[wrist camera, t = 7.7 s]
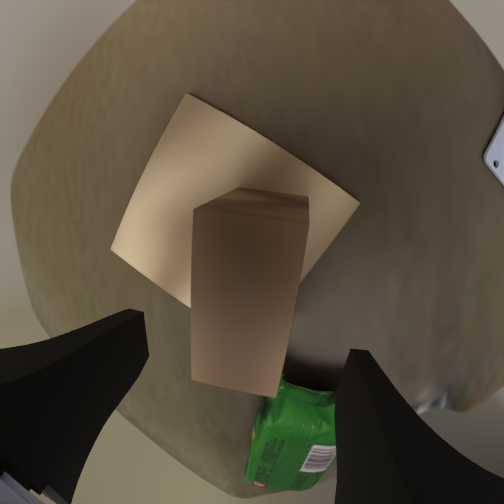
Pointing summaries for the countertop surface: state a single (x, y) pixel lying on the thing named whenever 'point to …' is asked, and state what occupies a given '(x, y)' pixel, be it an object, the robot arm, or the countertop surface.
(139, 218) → the plate
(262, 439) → the snack package
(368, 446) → the robot arm
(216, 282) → the slab
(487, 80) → the countertop surface
